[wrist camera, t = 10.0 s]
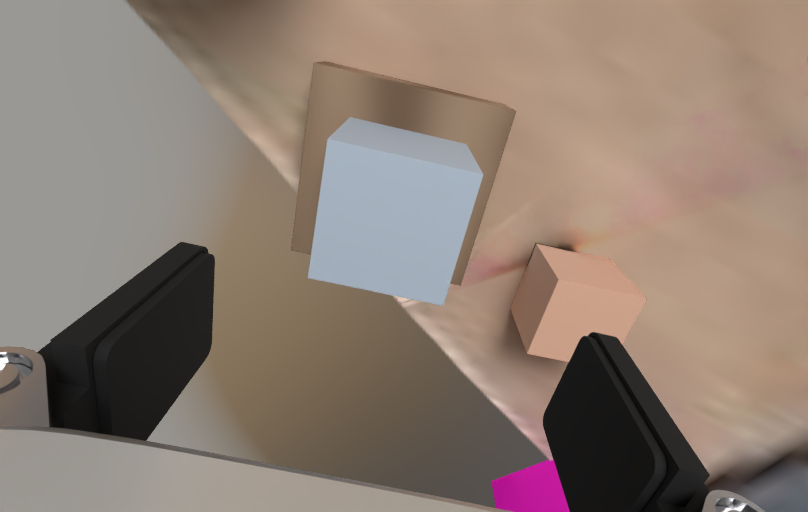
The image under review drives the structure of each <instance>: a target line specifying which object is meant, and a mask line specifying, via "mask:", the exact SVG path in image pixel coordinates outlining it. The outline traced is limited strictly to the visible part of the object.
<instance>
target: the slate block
mask: <svg viewBox="0 0 808 512" xmlns="http://www.w3.org/2000/svg"><path fill="white" fill-rule="evenodd" d="M482 178H483V173H482V171H481V169H480V167H479V165H478V164H477V162H476V160H475V158H474V156H473V155H472V153H471V151H470V149H469V147H468V146H467V144H464V143H460V142H455V141H451V140H447V139H442V138H438V137H434V136H430V135H425V134H421V133H417V132H412V131H408V130H404V129H399V128H395V127H391V126H387V125H382V124H378V123H374V122H369V121H365V120H361V119H356V118H352V117H349V118H348V119H347V120H346V121H345V122H344V123H343V124H342V125H341V126H340V127H339V128H338V129H337V130H336V131H335V132H334V133H333V134H332V135H331V136H330V137H329V138H328V139H327V146H326V153H325V160H324V167H323V174H322V181H321V188H320V195H319V202H318V209H317V216H316V223H315V230H314V237H313V244H312V251H311V259H310V265H309V273H308V278H310V279H315V280H320V281H325V282H330V283H335V284H340V285H344V286H349V287H354V288H359V289H364V290H369V291H374V292H379V293H383V294H388V295H393V296H398V297H403V298H408V299H413V300H418V301H422V302H427V303H432V304H437V305H442V306H443V305H444V302H445V298H446V295H447V292H448V289H449V285H450V282H451V279H452V276H453V272H454V269H455V266H456V263H457V259H458V256H459V253H460V249H461V246H462V243H463V240H464V236H465V233H466V230H467V227H468V223H469V220H470V217H471V214H472V210H473V207H474V204H475V201H476V197H477V194H478V191H479V187H480V184H481V181H482Z"/></svg>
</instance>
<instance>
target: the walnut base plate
mask: <svg viewBox="0 0 808 512" xmlns="http://www.w3.org/2000/svg"><path fill="white" fill-rule="evenodd" d="M515 113H516V111H515V110H513V109H511V108H510V107H508V106H506V105H504V104H500V103H496V102H492V101H488V100H483V99H479V98H475V97H471V96H467V95H463V94H458V93H454V92H450V91H446V90H442V89H438V88H433V87H429V86H425V85H421V84H417V83H413V82H409V81H404V80H400V79H396V78H392V77H388V76H384V75H379V74H375V73H371V72H367V71H363V70H359V69H355V68H350V67H346V66H342V65H338V64H334V63H330V62H316V63H313V72H312V80H311V88H310V97H309V105H308V113H307V122H306V130H305V138H304V147H303V155H302V163H301V172H300V180H299V188H298V197H297V206H296V214H295V222H294V230H293V238H292V247H291V250H292V251H298V252H302V253H307V254H311V251H312V244H313V237H314V230H315V223H316V216H317V209H318V202H319V195H320V188H321V181H322V174H323V167H324V160H325V153H326V146H327V139H328V138H329V137H330V136H331V135H332V134H333V133H334V132H335V131H336V130H337V129H338V128H339V127H340V126H341V125H342V124H343V123H344V122H345V121H346V120H347V119H348V118H349V117H352V118H356V119H361V120H365V121H369V122H374V123H378V124H382V125H387V126H391V127H395V128H399V129H404V130H408V131H412V132H417V133H421V134H425V135H430V136H434V137H438V138H442V139H447V140H451V141H455V142H460V143H464V144H467V146H468V147H469V149H470V151H471V153H472V155H473V156H474V158H475V160H476V162H477V164H478V165H479V167H480V169H481V171H482V173H483V178H482V181H481V184H480V187H479V191H478V194H477V197H476V201H475V204H474V207H473V210H472V214H471V217H470V220H469V223H468V227H467V230H466V233H465V236H464V240H463V243H462V246H461V249H460V253H459V256H458V259H457V263H456V266H455V269H454V272H453V276H452V279H451V282H450V283H451V284H455V285H460V286H461V283H462V280H463V276H464V273H465V270H466V267H467V264H468V261H469V258H470V255H471V251H472V248H473V245H474V242H475V239H476V236H477V233H478V229H479V226H480V223H481V220H482V217H483V214H484V211H485V207H486V204H487V201H488V198H489V195H490V192H491V189H492V186H493V182H494V179H495V176H496V173H497V170H498V167H499V164H500V160H501V157H502V154H503V151H504V148H505V145H506V142H507V139H508V135H509V132H510V129H511V126H512V123H513V120H514V117H515Z"/></svg>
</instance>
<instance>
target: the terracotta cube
mask: <svg viewBox="0 0 808 512" xmlns="http://www.w3.org/2000/svg"><path fill="white" fill-rule="evenodd" d="M646 299H647V298H646V297H645V296H644V295H643V294H642V293H641V292H640V290H639V289H638V288H637V287H636V286H635V285H634V284H633V283H632V282H631V281H630V280H629V279H628V278H627V277H626V276H625V275H624V273H623V272H622V271H621V270H620V269H619V268H618V267H617V266H616V265H615V264H614V263H613V262H612V261H611V260H610V259H607V258H603V257H598V256H594V255H589V254H585V253H580V252H576V251H571V250H566V249H562V248H557V247H553V246H548V245H544V244H539V243H535V246H534V248H533V251H532V253H531V256H530V258H529V261H528V264H527V266H526V269H525V271H524V274H523V277H522V279H521V282H520V284H519V287H518V289H517V292H516V295H515V297H514V300H513V302H512V305H511V308H510V309H511V312H512V314H513V317H514V320H515V323H516V325H517V328H518V331H519V333H520V336H521V339H522V342H523V344H524V347H525V350H526V352H527V354H531V355H536V356H541V357H546V358H551V359H556V360H561V361H566V362H569V361H570V359H571V357H572V355H573V353H574V351H575V349H576V347H577V345H578V343H579V341H580V339H581V338H582V337H583V336H588V335H589V334H590V333H592V332H596V333H601V334H605V335H610V336H614V337H617V338H618V339H619V341H620V342H621V344H623V342H624V340H625V338H626V336H627V335H628V333H629V331H630V329H631V327H632V325H633V324H634V322H635V320H636V318H637V316H638V314H639V312H640V311H641V309H642V307H643V305H644V303H645V301H646Z"/></svg>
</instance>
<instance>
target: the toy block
mask: <svg viewBox="0 0 808 512" xmlns="http://www.w3.org/2000/svg"><path fill="white" fill-rule="evenodd" d="M492 487H493V493H494V498H495V504H496V508H497V509H502V510H507V511H512V512H570V511H569V508H568V504H567V501H566V498H565V495H564V491H563V488H562V485H561V482H560V479H559V475H558V472H557V469H556V466H555V463H554V460H552V461H551V460H550V459H549V460H546V461H544V462H541V463H538V464H536V465H533V466H530V467H528V468H525V469H522V470H520V471H517V472H514V473H512V474H509V475H506V476H504V477H501V478H498V479H496V480H493V481H492Z"/></svg>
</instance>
